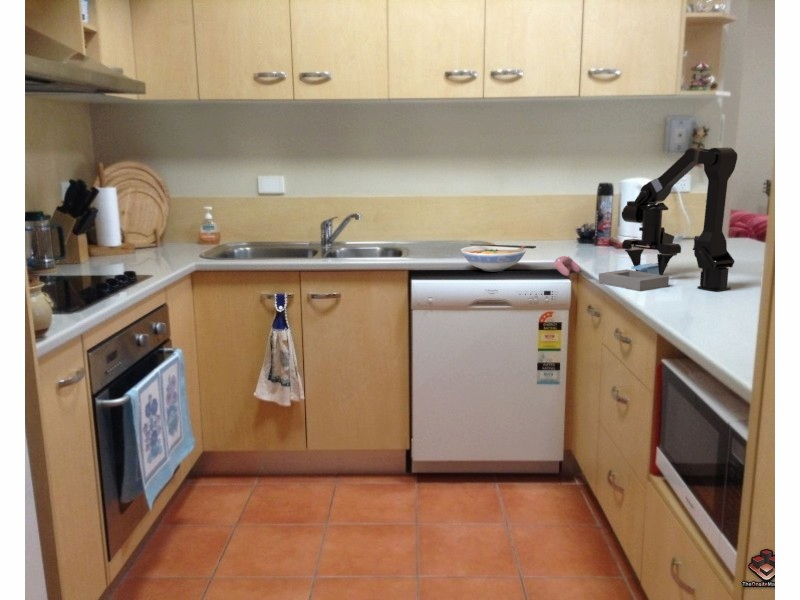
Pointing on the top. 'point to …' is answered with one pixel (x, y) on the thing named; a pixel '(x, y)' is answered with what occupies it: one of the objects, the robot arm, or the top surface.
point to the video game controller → (566, 265)
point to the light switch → (633, 280)
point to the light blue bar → (648, 268)
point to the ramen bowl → (494, 256)
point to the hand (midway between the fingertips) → (649, 273)
